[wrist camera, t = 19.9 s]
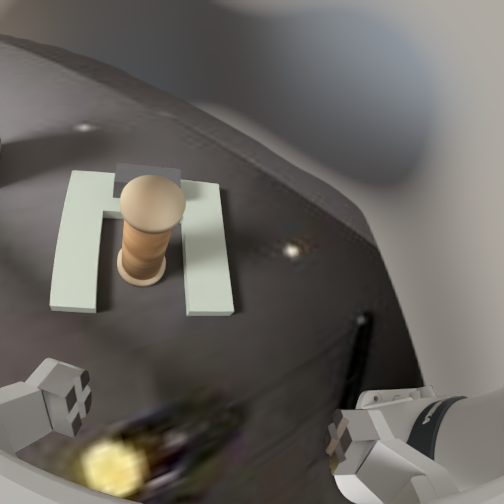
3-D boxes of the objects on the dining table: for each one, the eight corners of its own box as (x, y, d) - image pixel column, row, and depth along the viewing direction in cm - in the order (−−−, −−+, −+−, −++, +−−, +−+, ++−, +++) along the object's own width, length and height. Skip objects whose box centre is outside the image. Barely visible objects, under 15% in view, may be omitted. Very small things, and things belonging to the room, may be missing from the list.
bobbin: (164, 244, 38) (184, 177, 28) (166, 287, 35) (187, 230, 26) (118, 241, 36) (123, 172, 26) (116, 286, 33) (118, 226, 23)
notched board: (215, 190, 45) (225, 169, 41) (229, 315, 37) (243, 301, 33) (72, 177, 37) (71, 153, 33) (52, 310, 29) (44, 294, 25)
